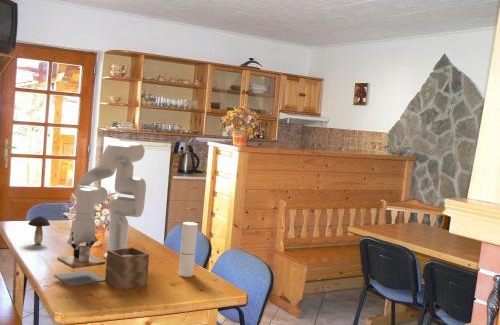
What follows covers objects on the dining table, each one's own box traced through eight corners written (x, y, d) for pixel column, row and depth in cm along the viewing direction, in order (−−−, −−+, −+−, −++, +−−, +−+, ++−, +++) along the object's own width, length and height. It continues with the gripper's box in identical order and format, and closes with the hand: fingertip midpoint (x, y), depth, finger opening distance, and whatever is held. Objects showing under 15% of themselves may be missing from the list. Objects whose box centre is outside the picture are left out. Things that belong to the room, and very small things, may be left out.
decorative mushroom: (46, 241, 284) (48, 214, 283) (50, 246, 274) (52, 218, 273) (25, 241, 278) (27, 214, 277) (28, 246, 269) (30, 218, 268)
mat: (87, 271, 238) (87, 270, 238) (105, 280, 227) (105, 279, 227) (54, 276, 227) (54, 275, 227) (71, 286, 215) (71, 285, 215)
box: (130, 277, 236) (132, 247, 234) (146, 285, 226) (149, 254, 225) (105, 281, 226) (107, 250, 225) (120, 290, 217) (123, 257, 216)
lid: (88, 256, 237) (89, 240, 236) (105, 264, 226) (106, 248, 226) (57, 259, 226) (58, 243, 225) (72, 268, 215) (74, 251, 215)
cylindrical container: (195, 273, 250) (200, 223, 248) (189, 277, 243) (193, 225, 241) (182, 271, 252) (186, 221, 251) (175, 274, 246) (180, 223, 244)
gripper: (97, 213, 233) (94, 253, 235) (62, 215, 221) (59, 257, 223) (106, 217, 228) (102, 257, 229) (70, 219, 216) (67, 261, 217)
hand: (81, 256), depth 226 cm, fingers closed on lid, 4 cm apart
